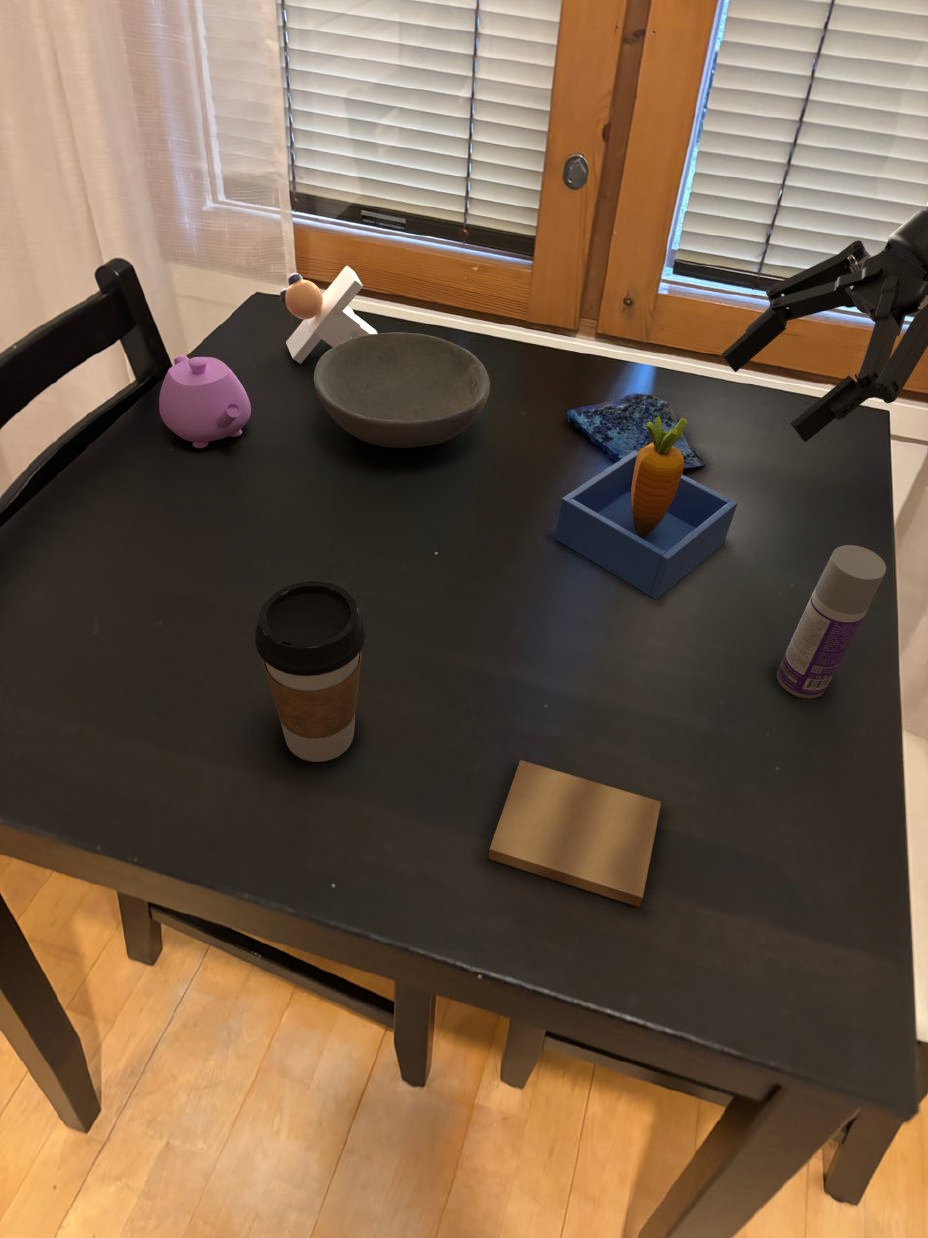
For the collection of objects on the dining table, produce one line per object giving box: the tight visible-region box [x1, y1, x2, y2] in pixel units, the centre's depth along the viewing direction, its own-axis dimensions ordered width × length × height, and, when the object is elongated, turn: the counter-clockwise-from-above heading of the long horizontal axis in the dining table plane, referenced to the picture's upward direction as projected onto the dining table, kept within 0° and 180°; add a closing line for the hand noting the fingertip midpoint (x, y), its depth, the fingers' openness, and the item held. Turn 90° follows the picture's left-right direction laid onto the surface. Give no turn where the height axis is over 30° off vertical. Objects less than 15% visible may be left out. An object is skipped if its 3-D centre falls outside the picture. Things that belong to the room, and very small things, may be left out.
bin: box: [554, 451, 739, 600], centre depth 96 cm, size 14×14×6 cm
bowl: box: [313, 332, 491, 449], centre depth 109 cm, size 21×21×8 cm
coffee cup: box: [254, 580, 366, 763], centre depth 71 cm, size 8×8×15 cm
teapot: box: [158, 354, 252, 449], centre depth 105 cm, size 10×15×9 cm
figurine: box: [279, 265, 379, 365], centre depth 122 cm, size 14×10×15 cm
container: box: [776, 544, 887, 699], centre depth 79 cm, size 5×5×15 cm
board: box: [487, 759, 662, 908], centre depth 70 cm, size 12×9×2 cm
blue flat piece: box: [566, 392, 706, 469], centre depth 112 cm, size 15×17×2 cm
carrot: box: [631, 417, 688, 537], centre depth 93 cm, size 5×5×15 cm
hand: (760, 396), depth 89 cm, fingers open, 13 cm apart
